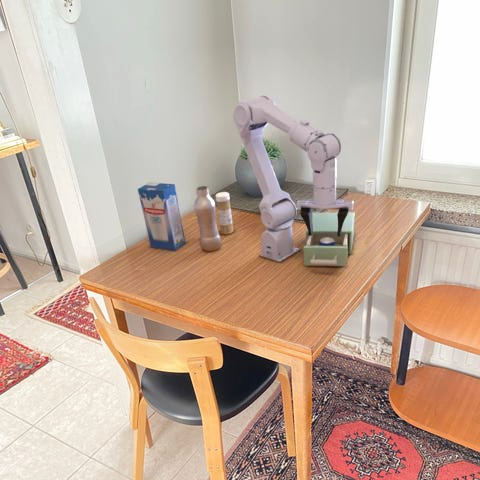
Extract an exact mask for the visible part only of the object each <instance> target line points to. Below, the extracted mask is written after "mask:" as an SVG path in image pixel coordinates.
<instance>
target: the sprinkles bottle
mask: <svg viewBox="0 0 480 480" xmlns="http://www.w3.org/2000/svg"><path fill="white" fill-rule="evenodd" d="M214 196H215V201H216V206H217V217H218V222H219V227H220V233H221V234H222V235H230V234H232V233H234V226H233V225H234V224H233V216H232V208H231V201H230V200H231V199H230V192H227V191H221V192H218V193H216V194H215V195H214Z"/></svg>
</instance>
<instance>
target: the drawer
mask: <svg viewBox="0 0 480 480" xmlns="http://www.w3.org/2000/svg"><path fill="white" fill-rule="evenodd" d="M326 237H329V238H333V239H334V246H320V244H319V241H320V239H322V238H326ZM348 241H349V233H341V236H340V237H338V236H337V233H312V236H309V238H308V241H307V244H306V243H305V245H304V246H303V265H304V266H315V267H316V266H322V267H348V255H349V254H348Z"/></svg>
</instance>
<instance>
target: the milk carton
mask: <svg viewBox="0 0 480 480" xmlns="http://www.w3.org/2000/svg"><path fill="white" fill-rule="evenodd" d="M137 192H138V197H139V201H140V205H141V210H142V214H143V215H142V216H143V220H144V223H145V227H146V232H147V237H148V240H149V244H150V245H149V246H150V248H152V249H153V248H154V249H160V250H167V251H174V252H176V251H177V250H178V249H180V248H181V247H182V246H184V244H186V237H185V233H184V227H183V223H182V217H181V216H182V215H181V212H180V206H179V201H178V195H177V190H176V184H175V183H164V182H148V183H146V184H144V185H142V186H140V187H139V188H137Z"/></svg>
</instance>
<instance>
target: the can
mask: <svg viewBox="0 0 480 480" xmlns="http://www.w3.org/2000/svg"><path fill="white" fill-rule="evenodd" d="M319 244H320V246H334V239H333V238H329V237H326V238H322V239H320V241H319Z"/></svg>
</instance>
